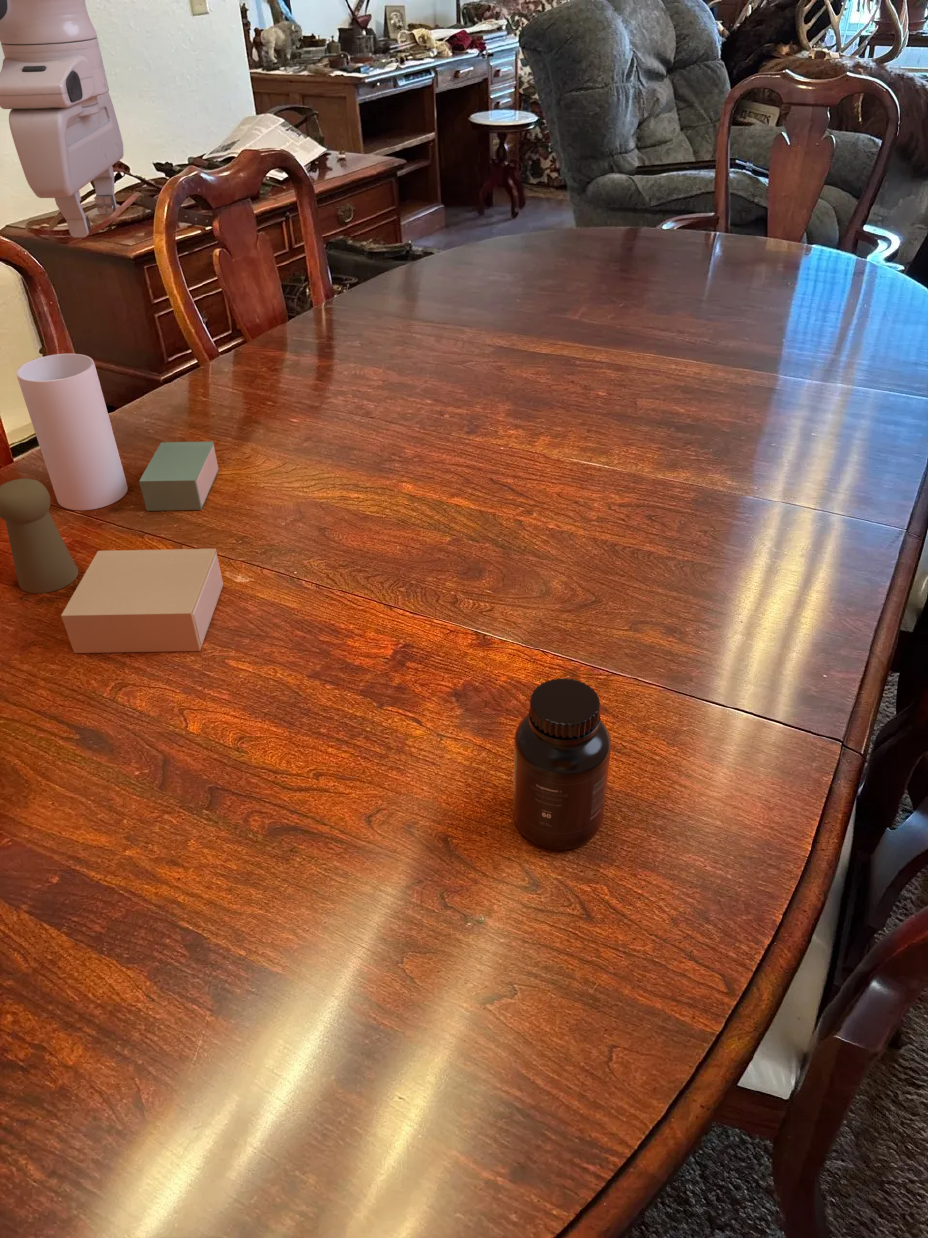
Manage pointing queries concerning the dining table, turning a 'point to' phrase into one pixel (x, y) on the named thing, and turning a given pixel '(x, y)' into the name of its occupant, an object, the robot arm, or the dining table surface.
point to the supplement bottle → (561, 766)
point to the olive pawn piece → (35, 538)
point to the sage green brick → (179, 476)
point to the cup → (73, 430)
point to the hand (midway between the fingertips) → (95, 223)
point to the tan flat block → (144, 601)
